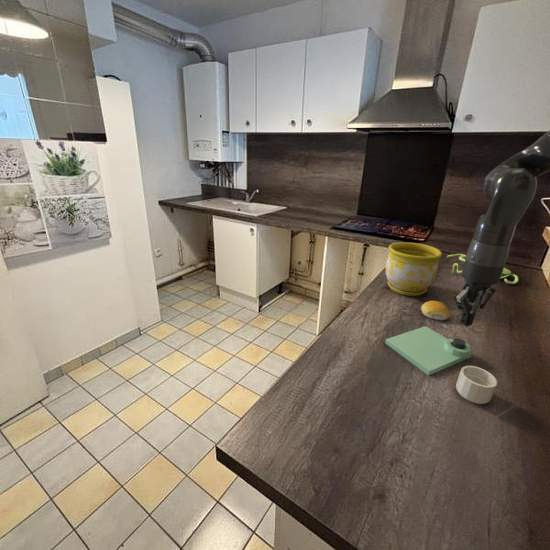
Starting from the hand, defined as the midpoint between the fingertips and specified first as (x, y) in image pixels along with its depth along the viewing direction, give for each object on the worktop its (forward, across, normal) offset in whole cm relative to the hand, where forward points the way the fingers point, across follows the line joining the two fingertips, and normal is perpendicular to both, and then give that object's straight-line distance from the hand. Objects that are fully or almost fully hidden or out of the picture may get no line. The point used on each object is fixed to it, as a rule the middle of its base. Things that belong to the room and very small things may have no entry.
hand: (465, 324), depth 73 cm
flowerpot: (+10, +20, +35) cm, 41 cm away
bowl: (+9, -10, -10) cm, 17 cm away
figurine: (+10, +63, +34) cm, 72 cm away
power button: (+7, 0, 0) cm, 7 cm away
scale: (+9, -6, +5) cm, 12 cm away
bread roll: (+10, +13, +17) cm, 23 cm away
